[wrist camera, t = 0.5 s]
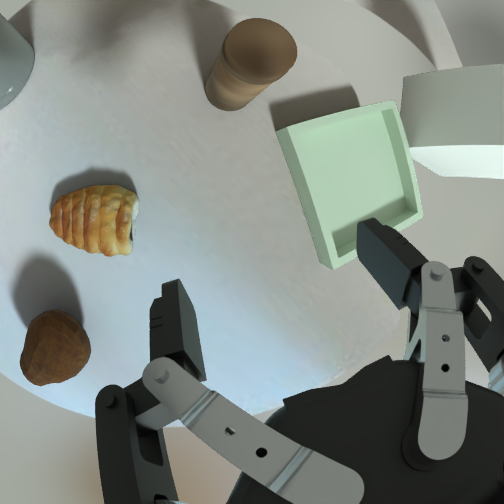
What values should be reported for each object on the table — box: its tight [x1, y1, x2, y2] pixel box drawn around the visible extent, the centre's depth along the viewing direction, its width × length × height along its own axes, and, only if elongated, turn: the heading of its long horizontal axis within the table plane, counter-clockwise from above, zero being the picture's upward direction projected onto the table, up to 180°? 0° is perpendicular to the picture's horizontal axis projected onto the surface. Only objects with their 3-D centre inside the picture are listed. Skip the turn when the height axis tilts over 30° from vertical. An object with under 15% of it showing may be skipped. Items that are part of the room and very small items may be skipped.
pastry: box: [49, 185, 139, 256], centre depth 24 cm, size 9×7×4 cm
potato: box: [20, 309, 91, 386], centre depth 23 cm, size 7×10×8 cm
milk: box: [400, 64, 504, 179], centre depth 22 cm, size 12×12×26 cm
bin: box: [275, 100, 423, 270], centre depth 31 cm, size 16×16×3 cm
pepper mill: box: [205, 18, 297, 111], centre depth 21 cm, size 5×5×11 cm
